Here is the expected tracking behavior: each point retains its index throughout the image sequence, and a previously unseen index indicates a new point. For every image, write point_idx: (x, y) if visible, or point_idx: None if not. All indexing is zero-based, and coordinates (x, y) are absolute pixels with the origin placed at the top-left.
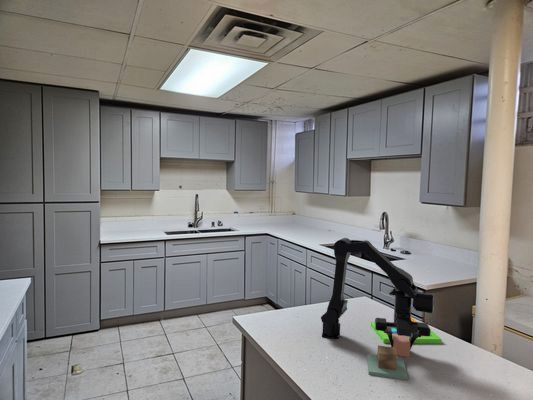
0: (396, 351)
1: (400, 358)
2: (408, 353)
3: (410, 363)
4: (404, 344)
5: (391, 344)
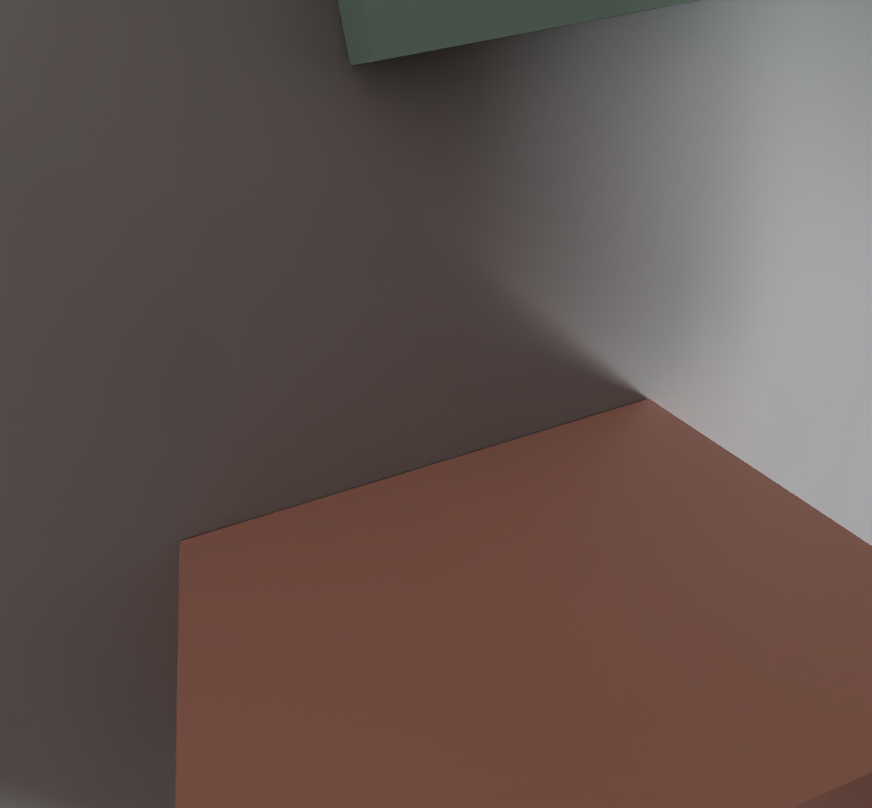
0: (627, 467)
1: (473, 15)
2: (228, 590)
3: (43, 23)
4: (494, 802)
5: None
